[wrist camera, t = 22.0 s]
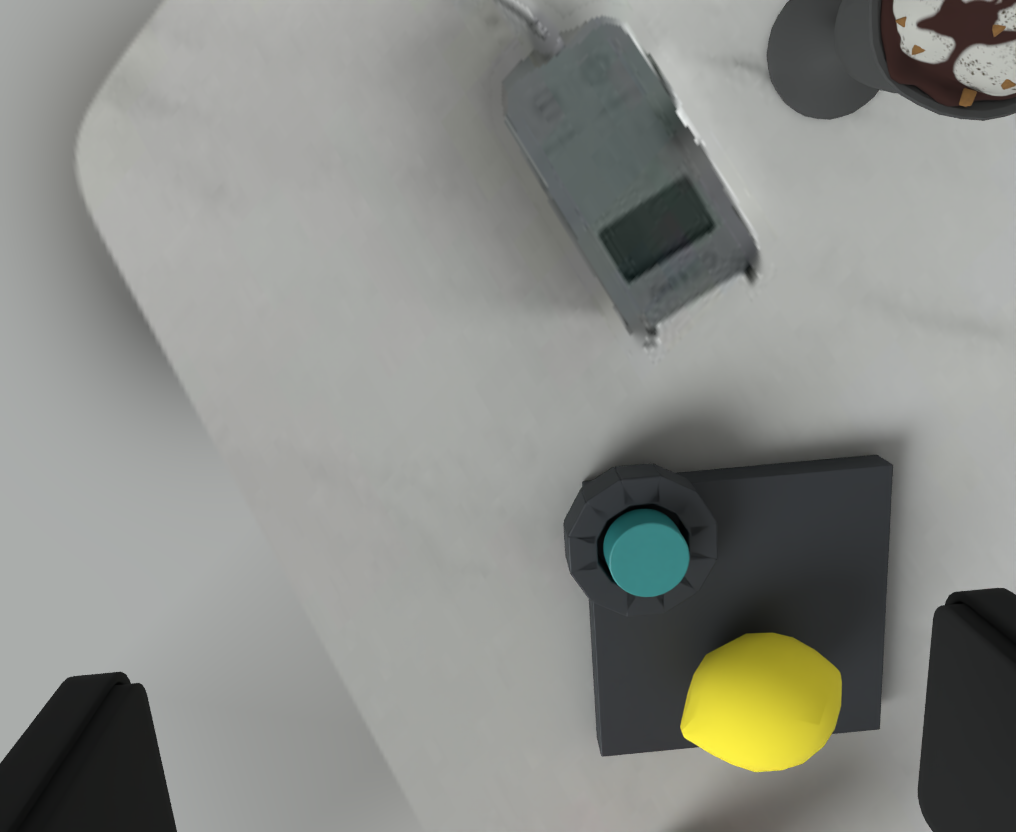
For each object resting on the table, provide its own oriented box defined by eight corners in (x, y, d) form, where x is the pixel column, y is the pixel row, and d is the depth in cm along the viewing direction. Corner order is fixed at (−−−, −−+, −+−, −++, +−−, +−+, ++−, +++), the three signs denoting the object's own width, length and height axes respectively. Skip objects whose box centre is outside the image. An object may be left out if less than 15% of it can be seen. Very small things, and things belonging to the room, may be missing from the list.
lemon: (797, 587, 36) (853, 655, 31) (829, 687, 37) (888, 767, 32) (646, 643, 36) (676, 719, 31) (684, 739, 38) (718, 827, 32)
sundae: (894, 152, 32) (1237, 120, 18) (729, 130, 32) (946, 78, 17) (937, -31, 31) (1352, -230, 16) (763, -58, 30) (1033, -287, 16)
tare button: (604, 583, 34) (610, 601, 32) (601, 511, 33) (607, 526, 32) (681, 576, 34) (691, 594, 33) (679, 504, 33) (689, 519, 32)
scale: (575, 739, 39) (583, 783, 36) (556, 460, 35) (564, 484, 32) (866, 711, 39) (897, 752, 36) (878, 431, 36) (914, 452, 33)
